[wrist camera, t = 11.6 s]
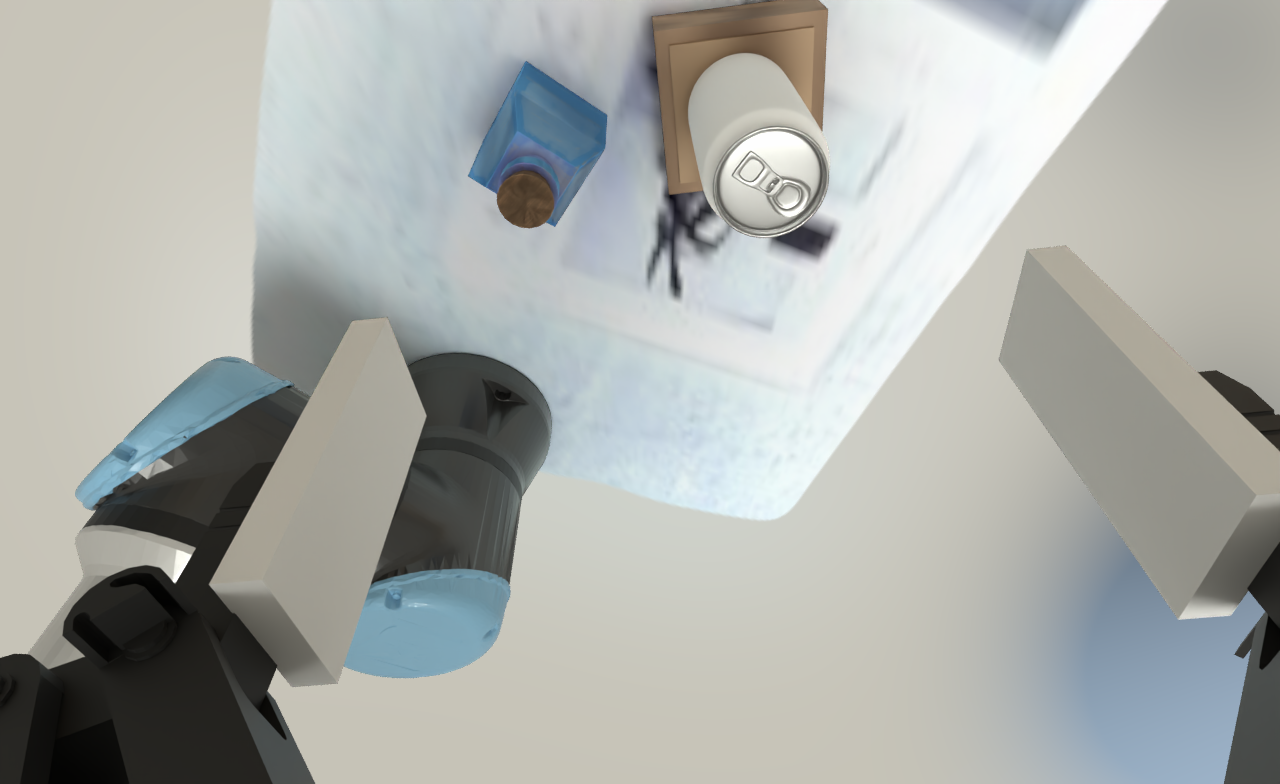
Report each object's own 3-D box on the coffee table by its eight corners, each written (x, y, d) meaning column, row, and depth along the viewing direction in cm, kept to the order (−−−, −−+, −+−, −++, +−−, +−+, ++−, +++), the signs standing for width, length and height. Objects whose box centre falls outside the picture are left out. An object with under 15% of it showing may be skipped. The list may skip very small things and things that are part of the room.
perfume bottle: (525, 61, 46) (500, 122, 37) (607, 115, 48) (602, 186, 39) (483, 140, 49) (450, 216, 40) (561, 188, 51) (547, 270, 42)
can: (746, 177, 47) (777, 267, 37) (666, 122, 44) (677, 202, 35) (814, 92, 43) (866, 167, 34) (731, 26, 41) (763, 87, 32)
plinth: (666, 171, 51) (669, 196, 47) (652, 16, 44) (654, 32, 41) (807, 154, 50) (821, 178, 47) (813, -5, 44) (829, 10, 40)
